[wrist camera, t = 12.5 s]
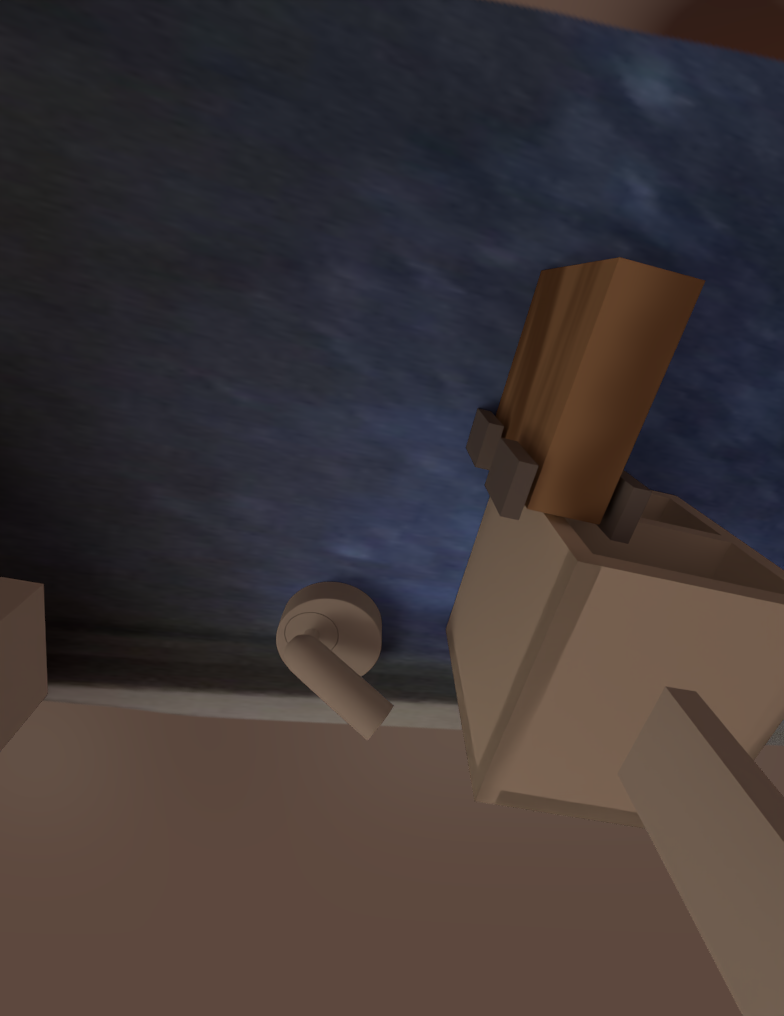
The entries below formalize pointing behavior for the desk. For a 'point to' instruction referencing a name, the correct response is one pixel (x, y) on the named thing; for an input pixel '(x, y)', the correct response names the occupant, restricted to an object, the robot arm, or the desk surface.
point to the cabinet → (601, 636)
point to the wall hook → (335, 650)
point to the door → (591, 376)
